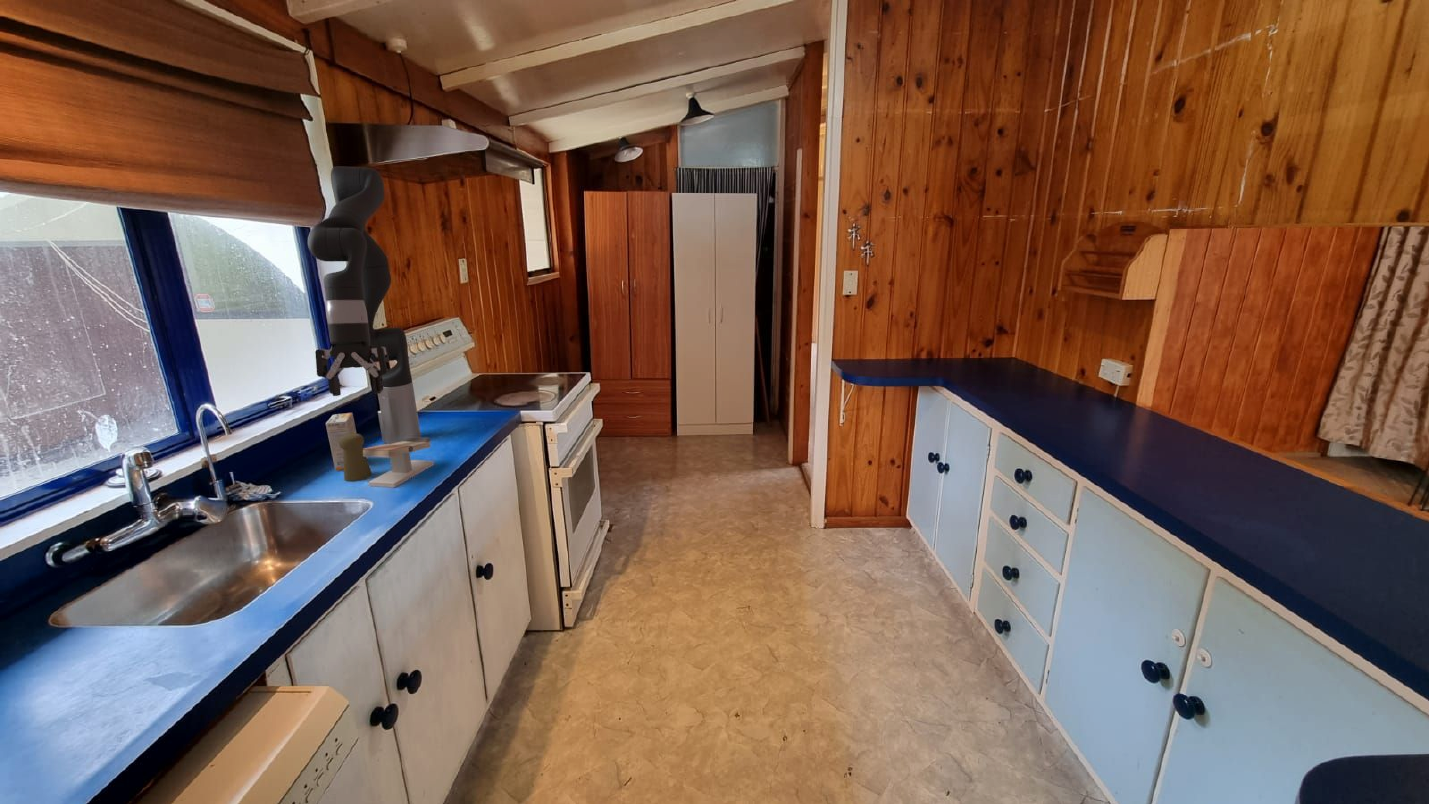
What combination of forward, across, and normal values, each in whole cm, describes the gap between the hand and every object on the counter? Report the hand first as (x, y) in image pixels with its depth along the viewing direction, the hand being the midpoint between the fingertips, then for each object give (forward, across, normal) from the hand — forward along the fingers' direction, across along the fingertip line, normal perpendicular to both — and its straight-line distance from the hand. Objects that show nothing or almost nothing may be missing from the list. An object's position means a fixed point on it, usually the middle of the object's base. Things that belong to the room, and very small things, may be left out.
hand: (357, 394), depth 127 cm
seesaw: (+15, -3, -11) cm, 19 cm away
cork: (+22, +8, -12) cm, 26 cm away
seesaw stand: (+22, -3, -12) cm, 25 cm away
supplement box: (+21, +14, -22) cm, 33 cm away
